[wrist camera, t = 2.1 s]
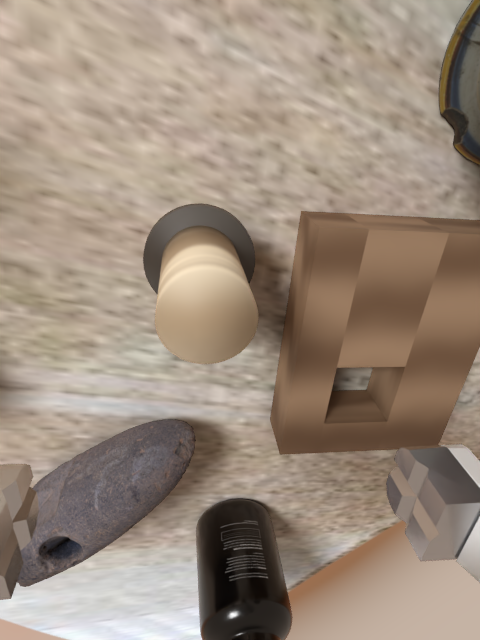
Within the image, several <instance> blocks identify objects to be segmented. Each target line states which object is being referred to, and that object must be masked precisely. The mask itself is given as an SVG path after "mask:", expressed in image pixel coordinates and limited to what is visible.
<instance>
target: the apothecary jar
mask: <svg viewBox="0 0 480 640" xmlns="http://www.w3.org/2000/svg"><path fill="white" fill-rule="evenodd" d="M439 106H440V113H441V114H442V115H443V116H444V117H445V118H446V119H447V121H448V122H449V123H450V124H451V125H452V126H453V127H454V130H455V136H454V142H453V144H454V146H455V148H456V149H457V150H458V151H459V152H460V153H461V154H462V155H463V156H465V157H466V158H468V159H469V160H471V161H473V162H475V163H477V164H479V165H480V0H472V1H471V3H470V4H469V6H468V7H467V9H466V10H465V12H464V14H463V15H462V17H461V19H460V21H459V22H458V24H457V25H456V28H455V30H454V33H453V35H452V37H451V40H450V42H449V45H448V48H447V50H446V53H445V57H444V60H443V64H442V69H441V75H440V83H439Z"/></svg>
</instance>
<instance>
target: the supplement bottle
mask: <svg viewBox="0 0 480 640" xmlns="http://www.w3.org/2000/svg"><path fill="white" fill-rule="evenodd" d="M196 546H197V569H198V592H199V615H200V631H201V637H202V639H203V640H285V639H286V637H287V636H288V634H289V632H290V629H291V625H292V611H291V606H290V601H289V597H288V592H287V588H286V583H285V579H284V574H283V570H282V565H281V561H280V556H279V552H278V548H277V543H276V539H275V534H274V530H273V526H272V521H271V518H270V515H269V513H268V511H267V510H266V509H265V508H264V507H263V506H262V505H260V504H259V503H257V502H254V501H251V500H246V499H232V500H227V501H223V502H220V503H218V504H216V505H214V506H212V507H211V508H209V509H208V510H207V511H205V512H204V514H203V515H202V516H201V517H200V519H199V521H198V523H197V527H196Z"/></svg>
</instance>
